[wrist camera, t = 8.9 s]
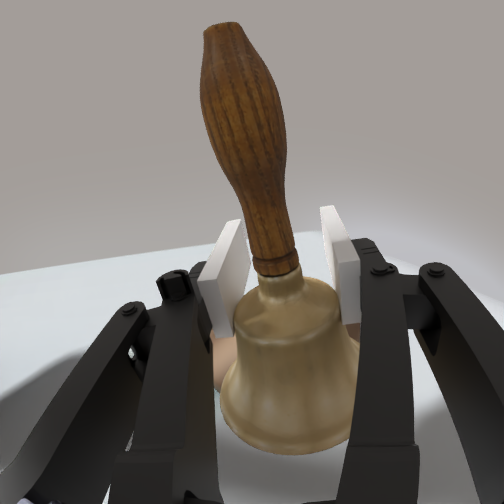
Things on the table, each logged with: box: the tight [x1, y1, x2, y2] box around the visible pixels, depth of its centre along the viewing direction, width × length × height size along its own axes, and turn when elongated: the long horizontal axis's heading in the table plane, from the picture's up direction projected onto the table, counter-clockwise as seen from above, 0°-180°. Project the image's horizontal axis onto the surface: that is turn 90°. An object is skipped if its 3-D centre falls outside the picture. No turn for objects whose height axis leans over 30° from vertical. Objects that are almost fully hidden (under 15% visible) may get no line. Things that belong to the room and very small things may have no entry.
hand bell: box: [200, 22, 360, 455], centre depth 11 cm, size 8×8×16 cm
